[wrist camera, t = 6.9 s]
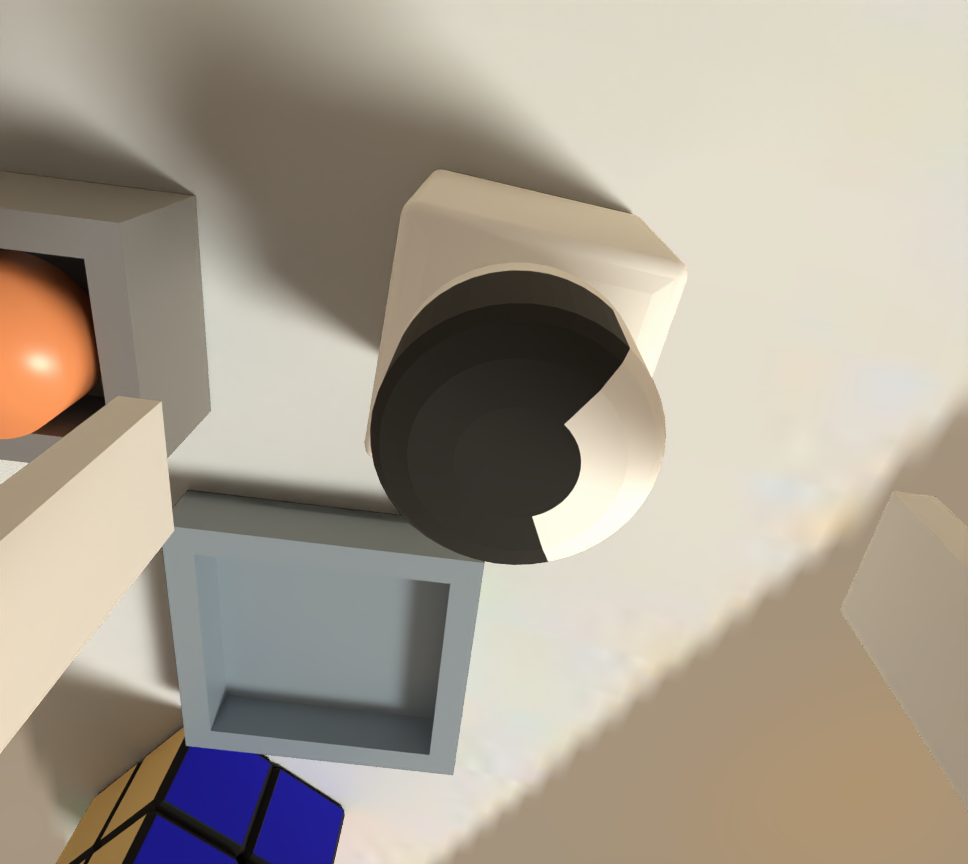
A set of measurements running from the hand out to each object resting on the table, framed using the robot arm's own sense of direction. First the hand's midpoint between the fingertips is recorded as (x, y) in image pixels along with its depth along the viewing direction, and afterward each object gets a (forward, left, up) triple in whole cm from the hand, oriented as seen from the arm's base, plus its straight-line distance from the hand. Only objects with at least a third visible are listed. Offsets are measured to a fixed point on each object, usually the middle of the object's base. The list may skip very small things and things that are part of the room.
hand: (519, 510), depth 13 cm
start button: (+2, -15, -9) cm, 18 cm away
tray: (+16, -6, -13) cm, 21 cm away
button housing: (+2, -15, -13) cm, 20 cm away
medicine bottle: (0, 0, -13) cm, 13 cm away
